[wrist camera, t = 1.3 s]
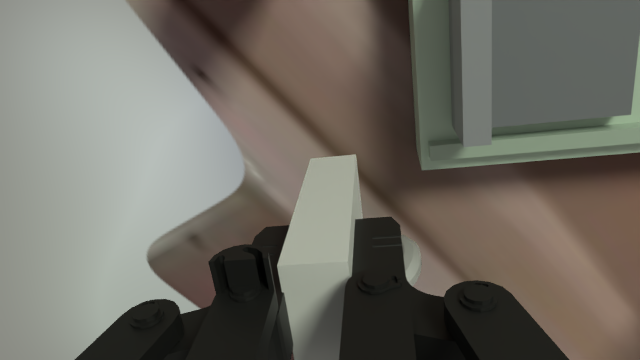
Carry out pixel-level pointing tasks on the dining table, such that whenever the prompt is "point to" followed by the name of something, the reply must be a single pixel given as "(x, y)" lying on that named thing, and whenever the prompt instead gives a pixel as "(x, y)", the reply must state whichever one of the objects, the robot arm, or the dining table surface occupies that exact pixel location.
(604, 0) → the shutter lid
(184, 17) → the dining table surface
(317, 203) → the robot arm
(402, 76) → the dining table surface
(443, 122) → the socket block
